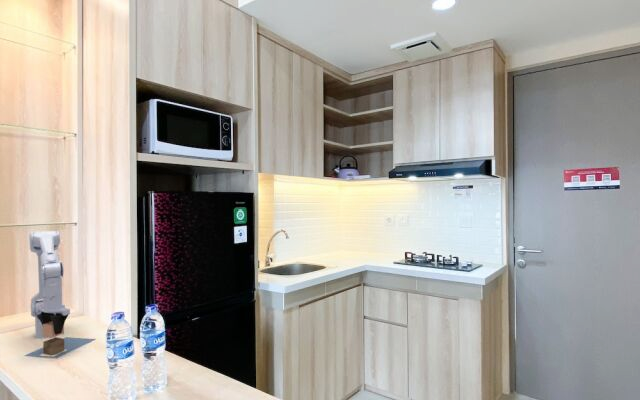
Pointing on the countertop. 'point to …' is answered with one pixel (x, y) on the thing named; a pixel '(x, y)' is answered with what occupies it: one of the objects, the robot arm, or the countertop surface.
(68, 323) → the countertop surface
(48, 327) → the terracotta block
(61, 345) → the walnut block
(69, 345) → the blueprint board
